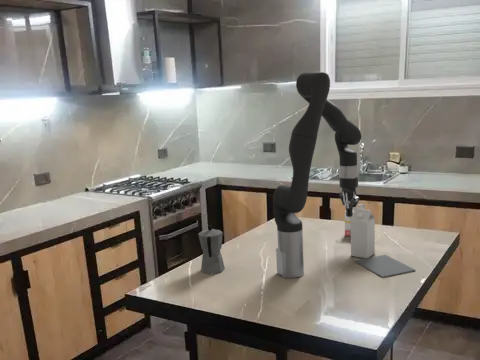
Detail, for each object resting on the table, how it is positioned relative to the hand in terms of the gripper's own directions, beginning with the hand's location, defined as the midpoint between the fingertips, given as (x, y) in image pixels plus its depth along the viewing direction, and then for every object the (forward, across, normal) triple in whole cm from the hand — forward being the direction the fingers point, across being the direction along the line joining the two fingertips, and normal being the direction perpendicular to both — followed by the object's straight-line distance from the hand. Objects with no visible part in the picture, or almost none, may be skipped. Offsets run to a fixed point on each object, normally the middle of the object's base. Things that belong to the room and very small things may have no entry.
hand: (349, 216), depth 197 cm
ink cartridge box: (+14, -13, +11) cm, 22 cm away
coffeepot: (+13, -1, -60) cm, 62 cm away
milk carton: (+14, +10, 0) cm, 17 cm away
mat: (+14, +24, 0) cm, 28 cm away
